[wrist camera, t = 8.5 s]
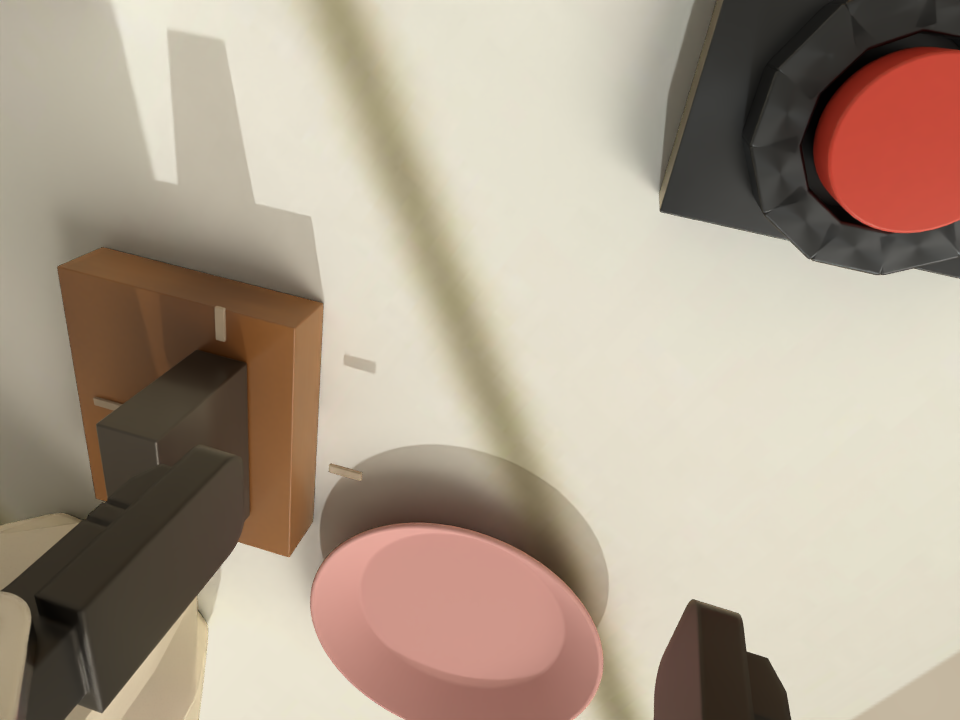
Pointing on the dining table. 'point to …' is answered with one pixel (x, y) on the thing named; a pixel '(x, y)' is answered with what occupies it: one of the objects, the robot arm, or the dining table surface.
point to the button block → (795, 125)
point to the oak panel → (217, 330)
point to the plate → (454, 626)
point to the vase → (166, 671)
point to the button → (895, 141)
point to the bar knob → (178, 419)
